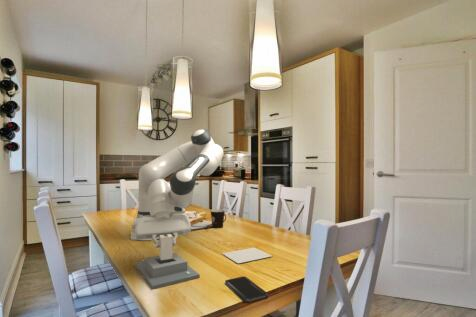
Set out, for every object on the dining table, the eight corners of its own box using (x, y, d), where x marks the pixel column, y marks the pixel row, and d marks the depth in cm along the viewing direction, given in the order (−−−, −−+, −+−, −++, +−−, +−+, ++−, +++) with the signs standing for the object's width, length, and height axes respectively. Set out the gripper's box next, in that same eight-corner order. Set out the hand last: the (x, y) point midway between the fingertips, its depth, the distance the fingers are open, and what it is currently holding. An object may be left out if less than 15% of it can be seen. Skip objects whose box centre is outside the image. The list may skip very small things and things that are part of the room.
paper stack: (287, 264, 107) (287, 263, 107) (230, 278, 94) (230, 276, 94) (254, 248, 127) (254, 247, 127) (203, 258, 115) (203, 256, 115)
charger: (159, 256, 101) (159, 234, 101) (170, 255, 103) (170, 232, 103) (161, 260, 98) (161, 236, 98) (172, 258, 99) (172, 235, 99)
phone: (245, 300, 77) (224, 280, 90) (245, 304, 77) (224, 283, 90) (269, 294, 81) (245, 275, 94) (269, 298, 81) (245, 279, 94)
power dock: (134, 265, 106) (134, 254, 106) (174, 257, 115) (174, 247, 115) (152, 289, 86) (152, 276, 86) (199, 277, 95) (199, 265, 95)
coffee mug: (209, 226, 172) (209, 209, 172) (222, 225, 175) (222, 209, 175) (213, 230, 161) (213, 213, 161) (227, 229, 164) (227, 212, 164)
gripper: (134, 211, 103) (136, 245, 94) (188, 207, 111) (194, 238, 102) (133, 221, 107) (135, 254, 98) (185, 216, 115) (191, 246, 106)
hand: (166, 245), depth 100 cm, fingers closed on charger, 4 cm apart
